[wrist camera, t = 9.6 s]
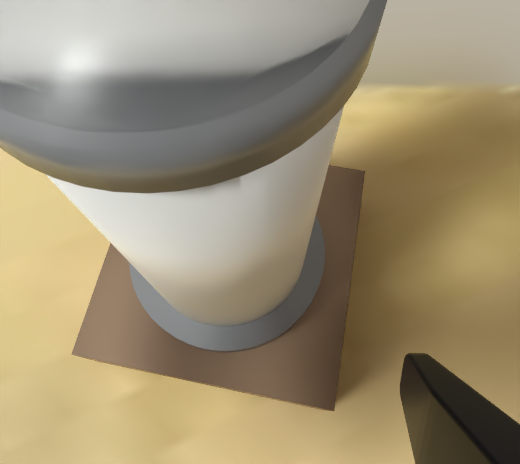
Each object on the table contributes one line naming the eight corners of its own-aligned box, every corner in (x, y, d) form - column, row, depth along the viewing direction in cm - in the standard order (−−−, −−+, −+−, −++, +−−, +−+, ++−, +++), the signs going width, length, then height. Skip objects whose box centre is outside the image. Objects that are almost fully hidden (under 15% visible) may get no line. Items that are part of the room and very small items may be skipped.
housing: (357, 239, 18) (543, -102, 6) (245, 396, 16) (175, 362, 4) (215, 146, 20) (136, -262, 8) (97, 274, 18) (-275, -14, 5)
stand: (354, 196, 21) (364, 171, 19) (325, 410, 18) (334, 410, 16) (160, 163, 22) (148, 135, 20) (95, 360, 19) (71, 354, 16)
